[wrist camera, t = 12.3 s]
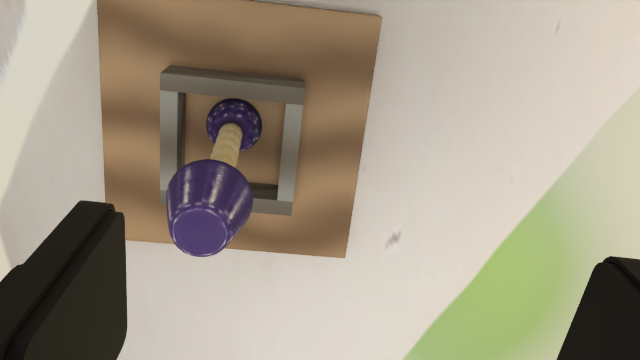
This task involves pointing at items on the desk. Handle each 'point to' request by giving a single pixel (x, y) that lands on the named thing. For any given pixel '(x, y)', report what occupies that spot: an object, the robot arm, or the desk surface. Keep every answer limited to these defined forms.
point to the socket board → (246, 84)
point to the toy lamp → (214, 184)
